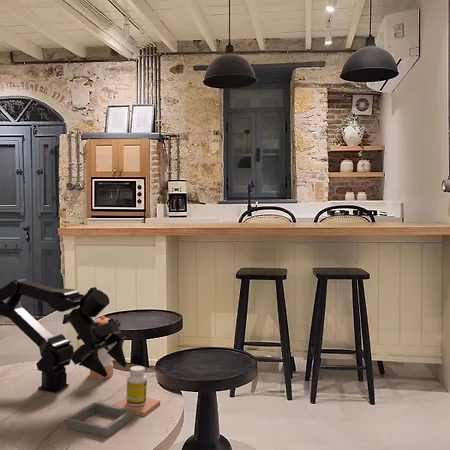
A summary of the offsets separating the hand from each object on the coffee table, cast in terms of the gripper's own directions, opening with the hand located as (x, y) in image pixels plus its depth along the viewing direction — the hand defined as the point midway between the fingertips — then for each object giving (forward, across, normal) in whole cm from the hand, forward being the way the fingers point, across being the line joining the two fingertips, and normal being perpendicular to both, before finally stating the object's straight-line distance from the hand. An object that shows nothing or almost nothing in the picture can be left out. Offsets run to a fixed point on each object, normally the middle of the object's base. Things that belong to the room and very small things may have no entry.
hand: (116, 371), depth 147 cm
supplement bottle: (+10, 0, +1) cm, 10 cm away
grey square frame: (+9, -13, +3) cm, 16 cm away
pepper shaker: (-5, +16, +18) cm, 25 cm away
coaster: (+11, 0, +1) cm, 11 cm away
